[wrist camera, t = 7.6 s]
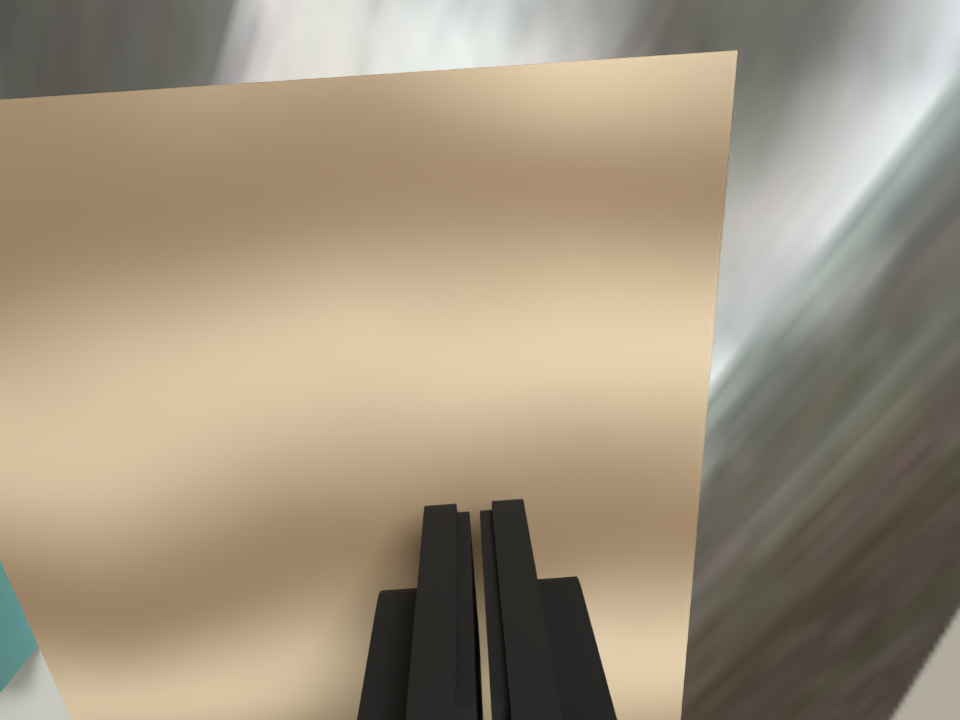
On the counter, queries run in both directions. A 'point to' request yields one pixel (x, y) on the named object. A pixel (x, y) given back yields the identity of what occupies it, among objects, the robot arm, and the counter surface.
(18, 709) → the mat
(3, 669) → the teal sticky note pad
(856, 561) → the counter surface
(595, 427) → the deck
